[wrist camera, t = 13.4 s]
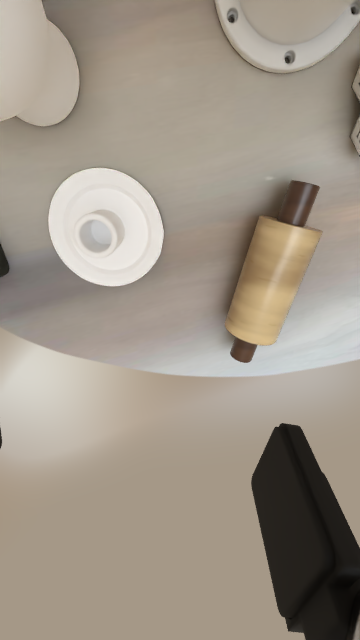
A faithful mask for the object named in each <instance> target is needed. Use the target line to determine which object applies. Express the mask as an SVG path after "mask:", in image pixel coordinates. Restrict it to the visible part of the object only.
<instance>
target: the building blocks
mask: <svg viewBox="0 0 360 640" xmlns="http://www.w3.org/2000/svg"><path fill="white" fill-rule="evenodd" d="M352 89H353V91H354V93H355V95H356V97H357V99H358V101H359V103H360V65H359V68H358V70H357V73H356V76H355V79H354V81H353V84H352ZM350 138H351V140H352V142H353V144H354V146H355V148H356V150H357V152H358V154H359V156H360V114H359V116H358V119H357V121H356V123H355V126H354V128H353V130H352V133H351V135H350Z"/></svg>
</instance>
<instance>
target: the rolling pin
mask: <svg viewBox="0 0 360 640" xmlns="http://www.w3.org/2000/svg"><path fill="white" fill-rule="evenodd" d="M319 188H320V187H319V186H317V185H313V184H309V183H305V182H300V181H294V180H291V181H290V184H289V187H288V190H287V193H286V196H285V198H284V201H283V204H282V207H281V210H280V213H279V215H278V218H273V217H268V216H263V215H260V216H259V219H258V222H257V225H256V228H255V231H254V234H253V238H252V241H251V244H250V247H249V250H248V253H247V256H246V259H245V262H244V265H243V268H242V271H241V274H240V278H239V281H238V284H237V287H236V290H235V293H234V296H233V299H232V302H231V305H230V308H229V311H228V315H227V318H226V321H225V327H226V329H227V330H228V331H229V332H230V333H231V334H233V335H234V336H236V338H235V340H234V343H233V346H232V349H231V352H230V354H231V356H232V357H233V358H234V359H235V360H237V361H240V362H244V363H248V362H250V361H251V360H252V357H253V355H254V352H255V350H256V347H257V345H272V344H274V343H275V342H276V340H277V338H278V336H279V333H280V331H281V329H282V326H283V324H284V321H285V319H286V317H287V314H288V312H289V310H290V307H291V305H292V303H293V300H294V298H295V296H296V293H297V291H298V289H299V286H300V284H301V282H302V279H303V277H304V275H305V272H306V270H307V268H308V265H309V263H310V261H311V258H312V256H313V253H314V251H315V249H316V246H317V244H318V242H319V239H320V237H321V235H322V231H320V230H318V229H315V228H311V227H308V226H305V224H306V221H307V218H308V216H309V213H310V211H311V208H312V206H313V203H314V201H315V198H316V196H317V193H318V191H319Z"/></svg>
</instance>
